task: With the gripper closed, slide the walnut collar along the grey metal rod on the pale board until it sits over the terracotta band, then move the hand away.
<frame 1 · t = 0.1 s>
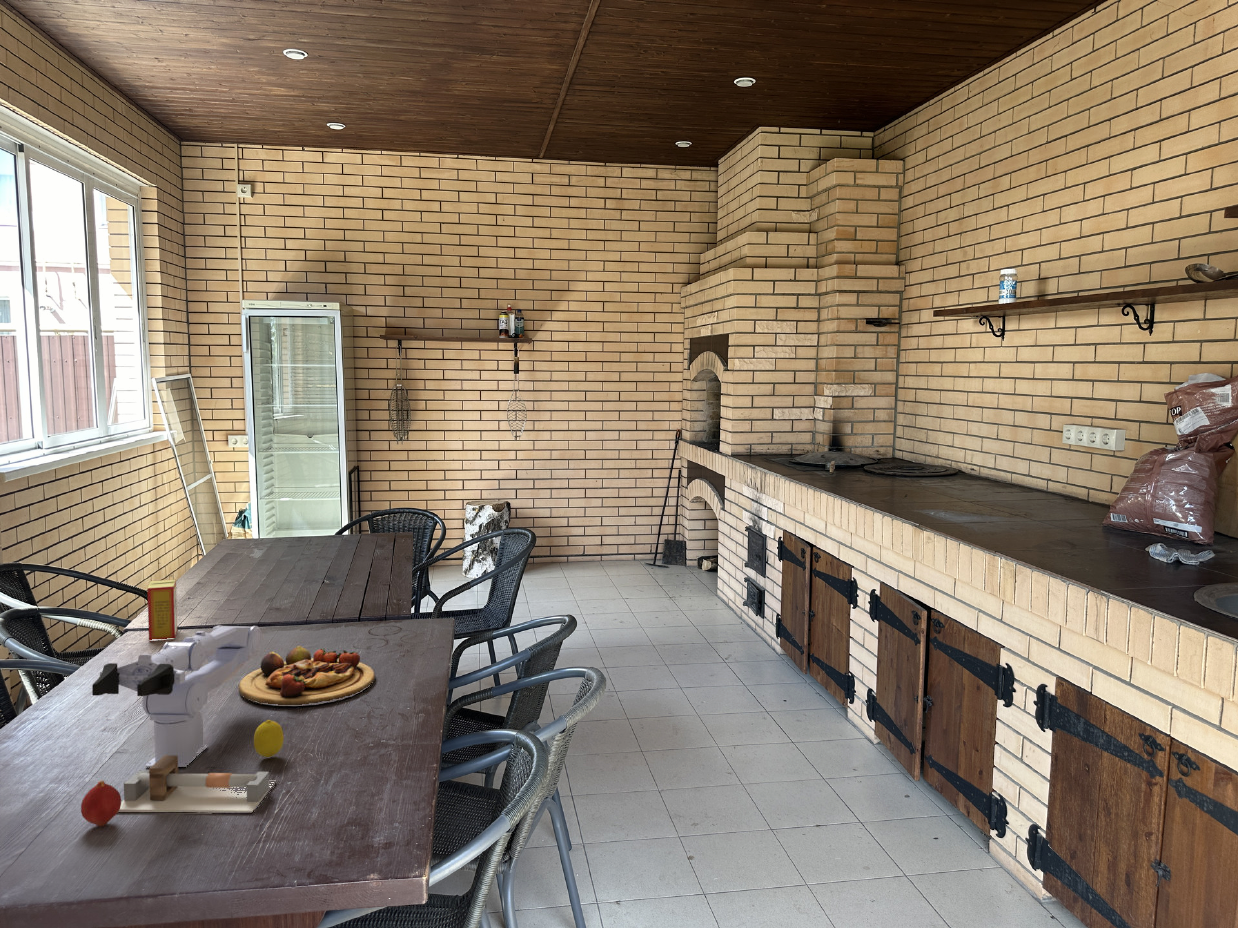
hand: (116, 690, 143), 22 cm above the table, tool horizontal, fingers open, 7 cm apart
rail: (198, 797, 150), on the table
wooden plate with food: (308, 686, 207), on the table
collar: (164, 777, 149), point 4 cm above the table, slide at -6.0 cm
baking soda box: (163, 636, 242), on the table
onion: (101, 826, 140), on the table
lemon: (268, 759, 166), on the table
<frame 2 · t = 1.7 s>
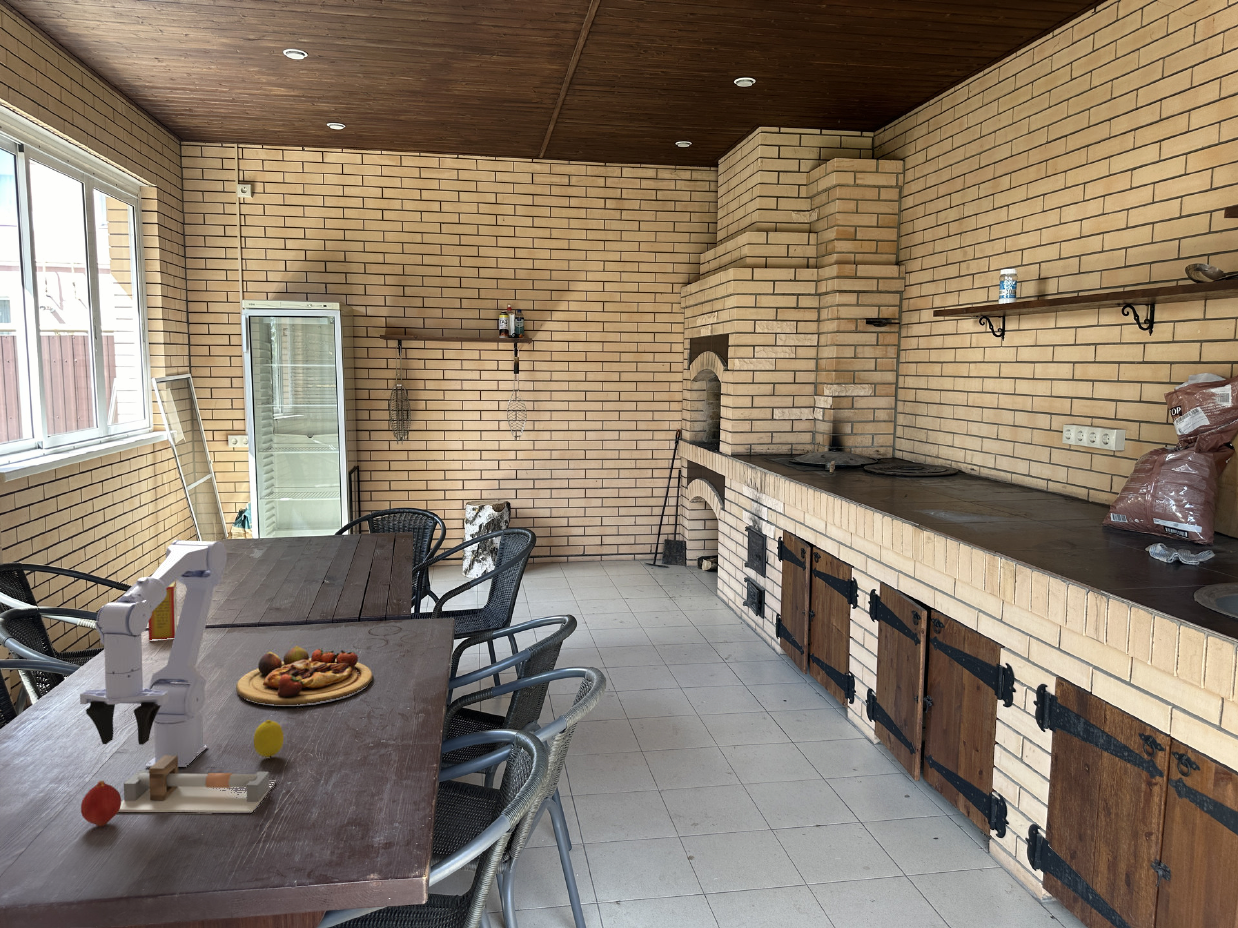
hand: (125, 742, 148), 10 cm above the table, tool pointing down, fingers open, 6 cm apart
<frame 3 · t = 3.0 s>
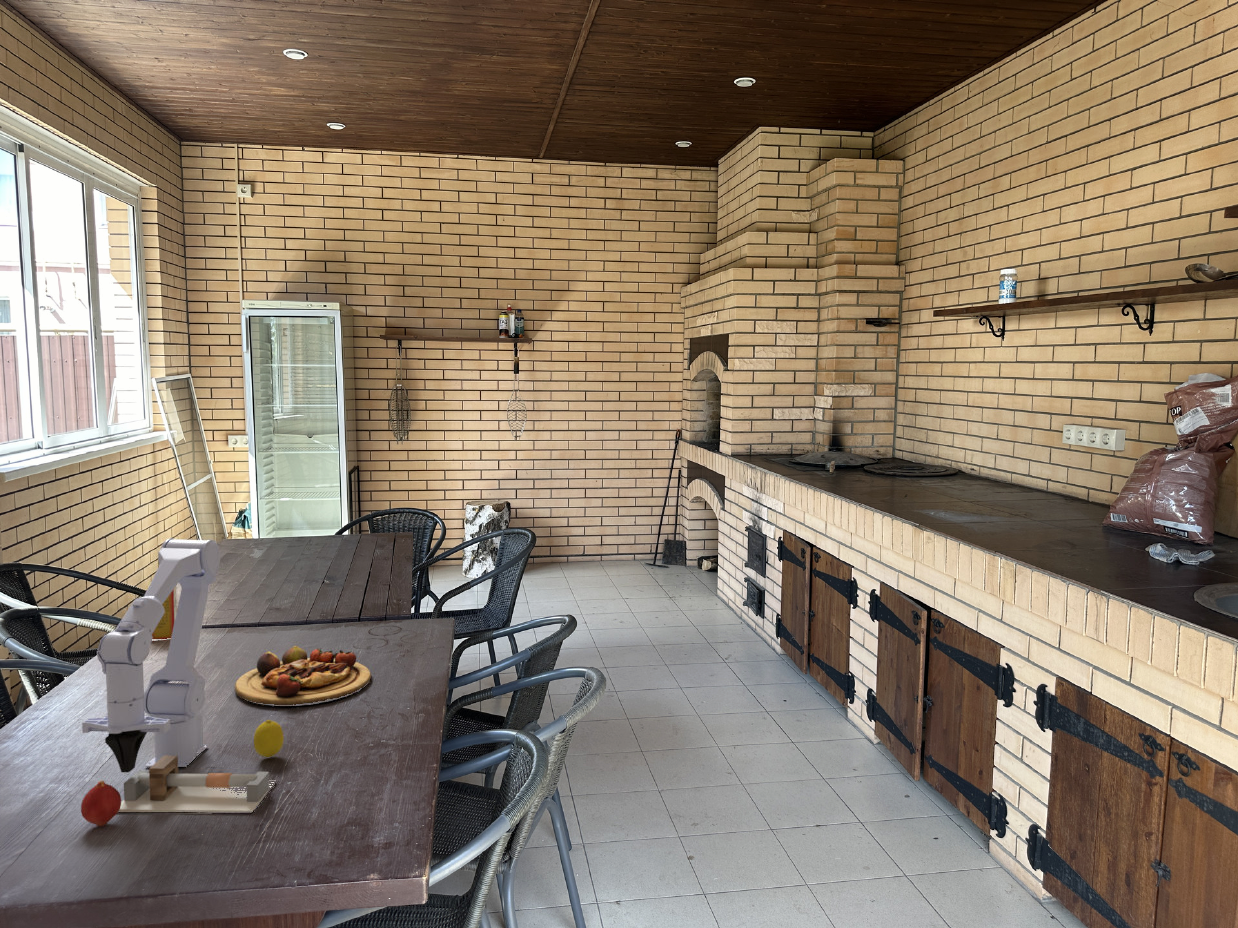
hand: (128, 769, 149), 5 cm above the table, tool pointing down, fingers closed
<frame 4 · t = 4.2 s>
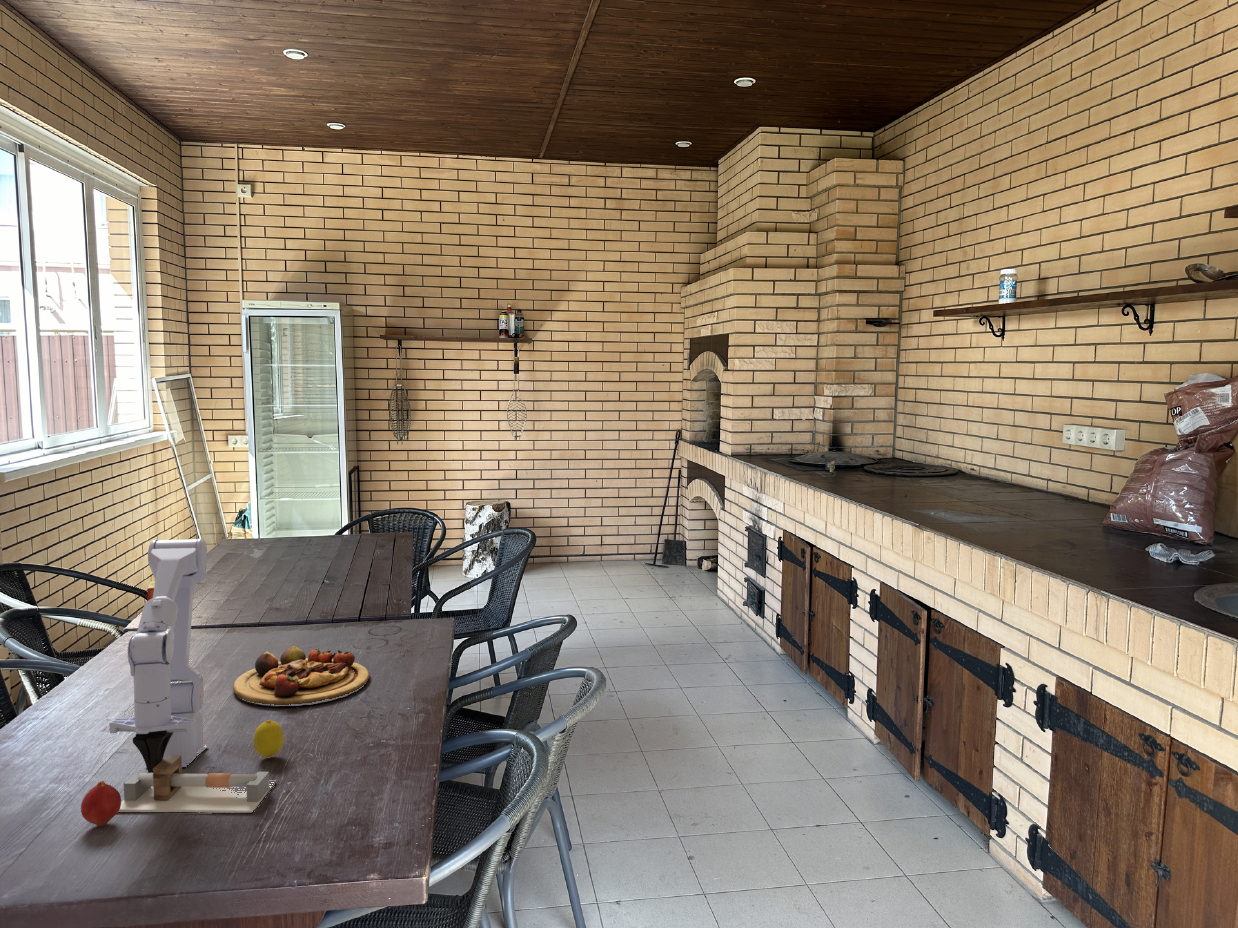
hand: (154, 770, 149), 5 cm above the table, tool pointing down, fingers closed
collar: (167, 777, 149), point 4 cm above the table, slide at -5.3 cm, touching gripper
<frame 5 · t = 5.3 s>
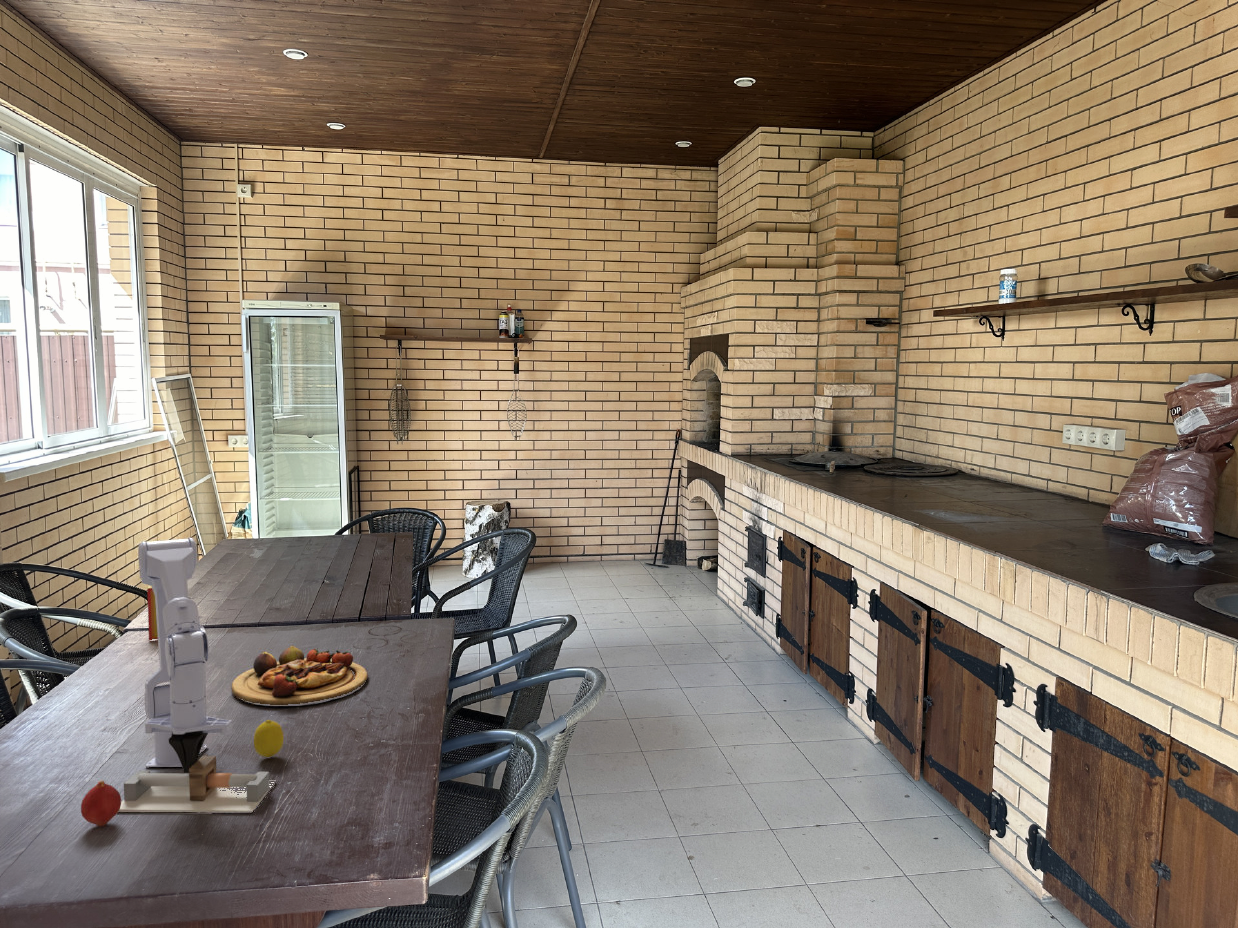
hand: (190, 770, 149), 5 cm above the table, tool pointing down, fingers closed
collar: (203, 777, 149), point 4 cm above the table, slide at 1.0 cm, touching gripper
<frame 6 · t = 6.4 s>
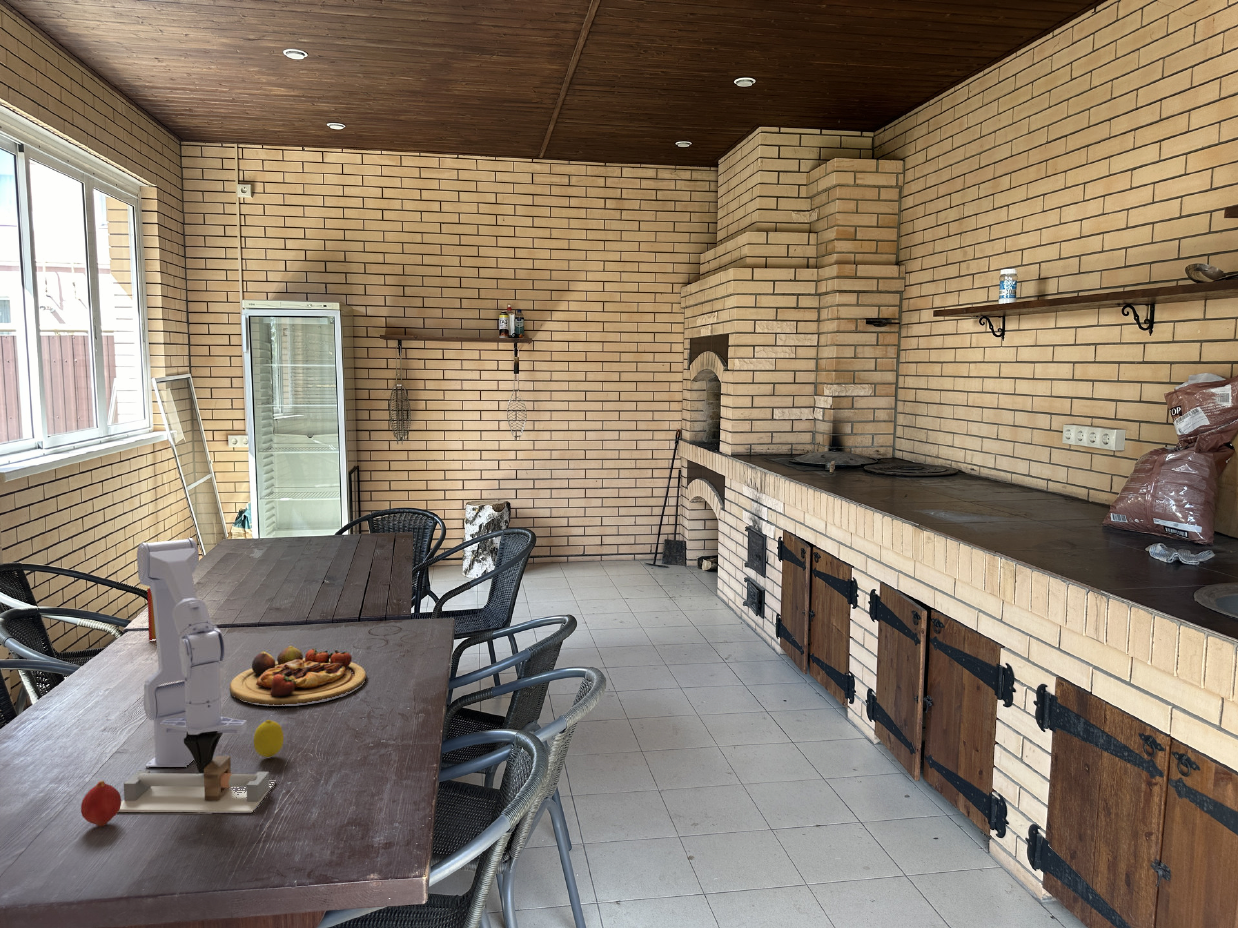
hand: (204, 770, 149), 5 cm above the table, tool pointing down, fingers closed
collar: (217, 777, 149), point 4 cm above the table, slide at 3.6 cm, touching gripper
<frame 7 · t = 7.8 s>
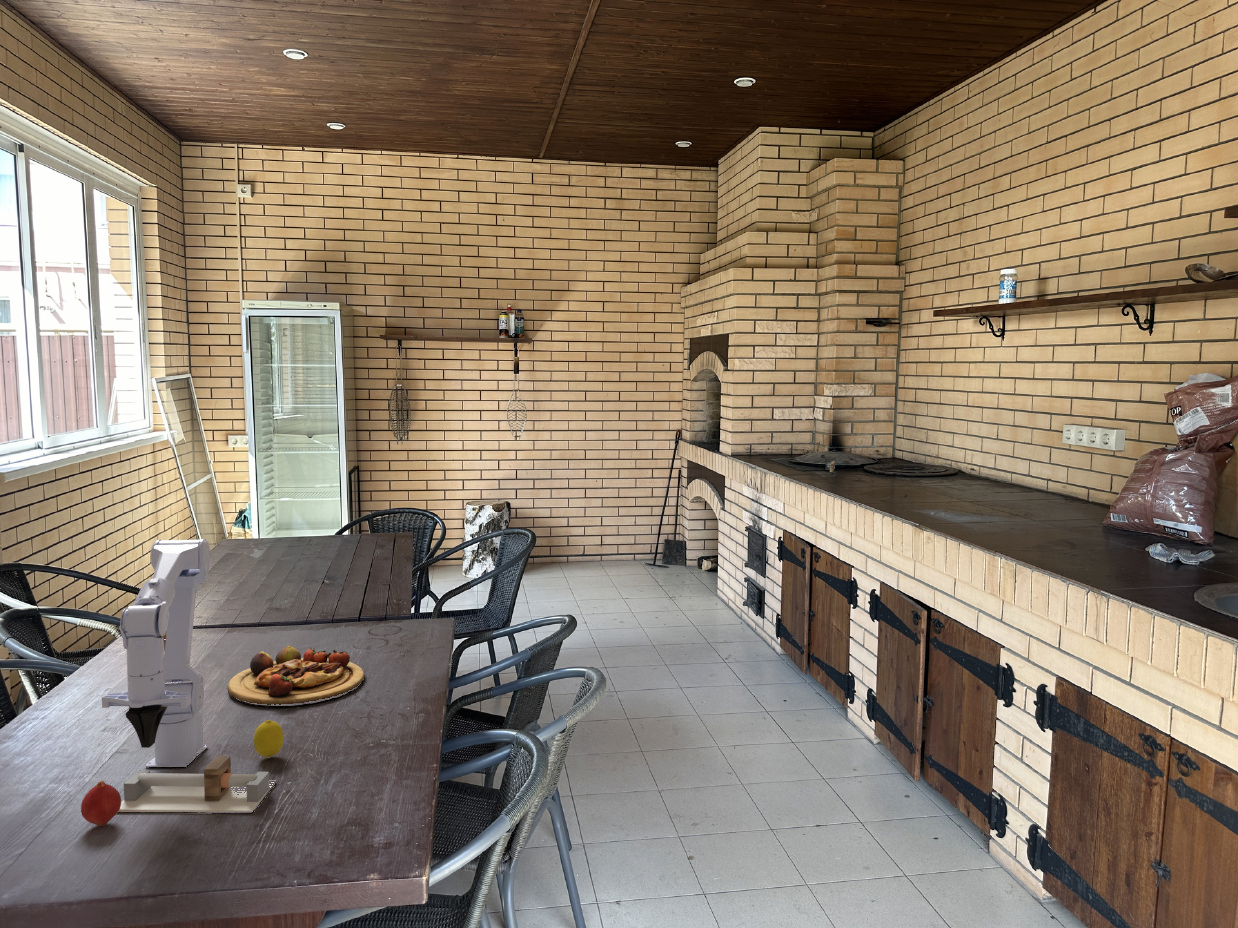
hand: (148, 745, 147), 10 cm above the table, tool pointing down, fingers closed
collar: (217, 777, 149), point 4 cm above the table, slide at 3.6 cm
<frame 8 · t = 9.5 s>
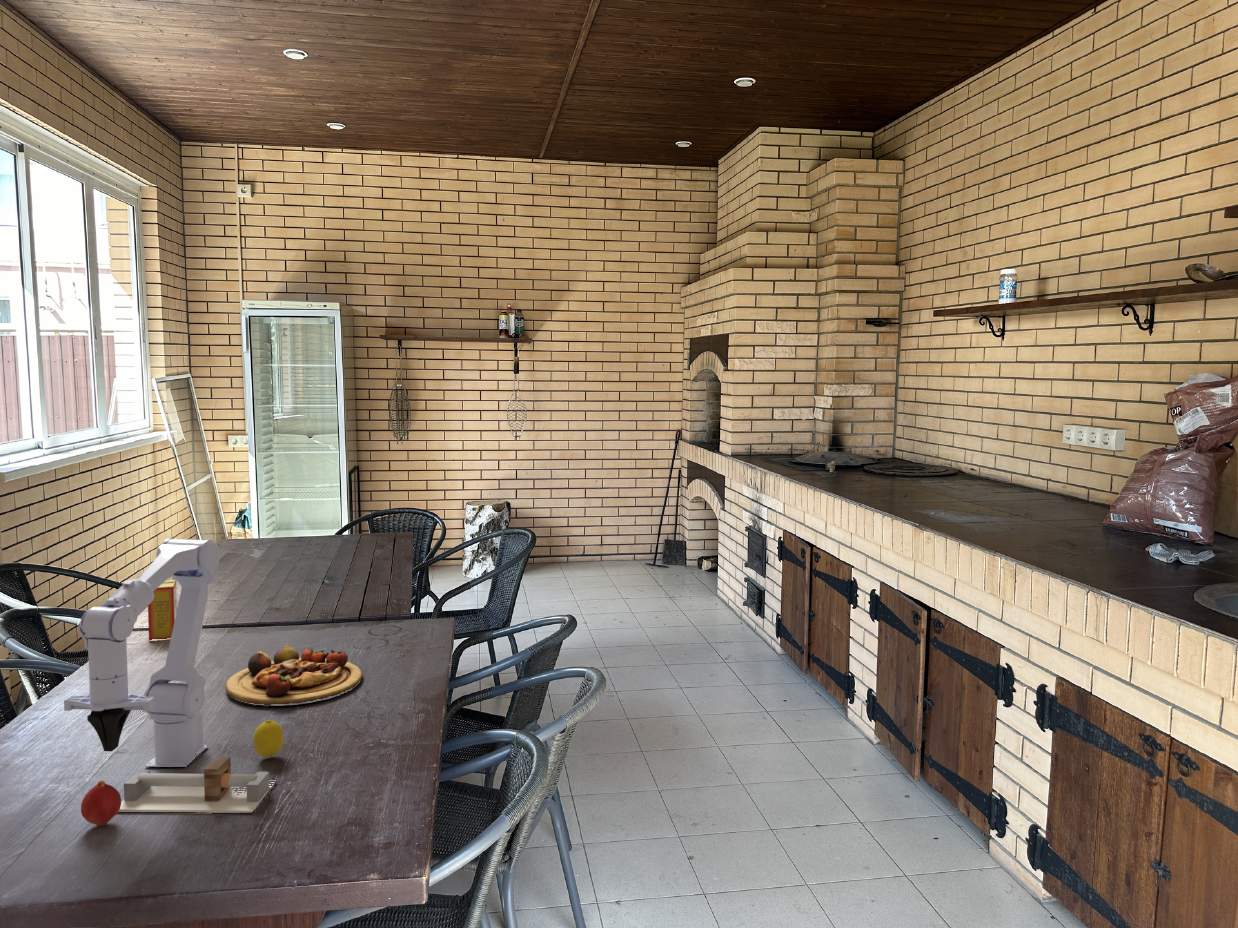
hand: (111, 748, 145), 10 cm above the table, tool pointing down, fingers closed
at the end: collar slide at 3.6 cm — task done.
